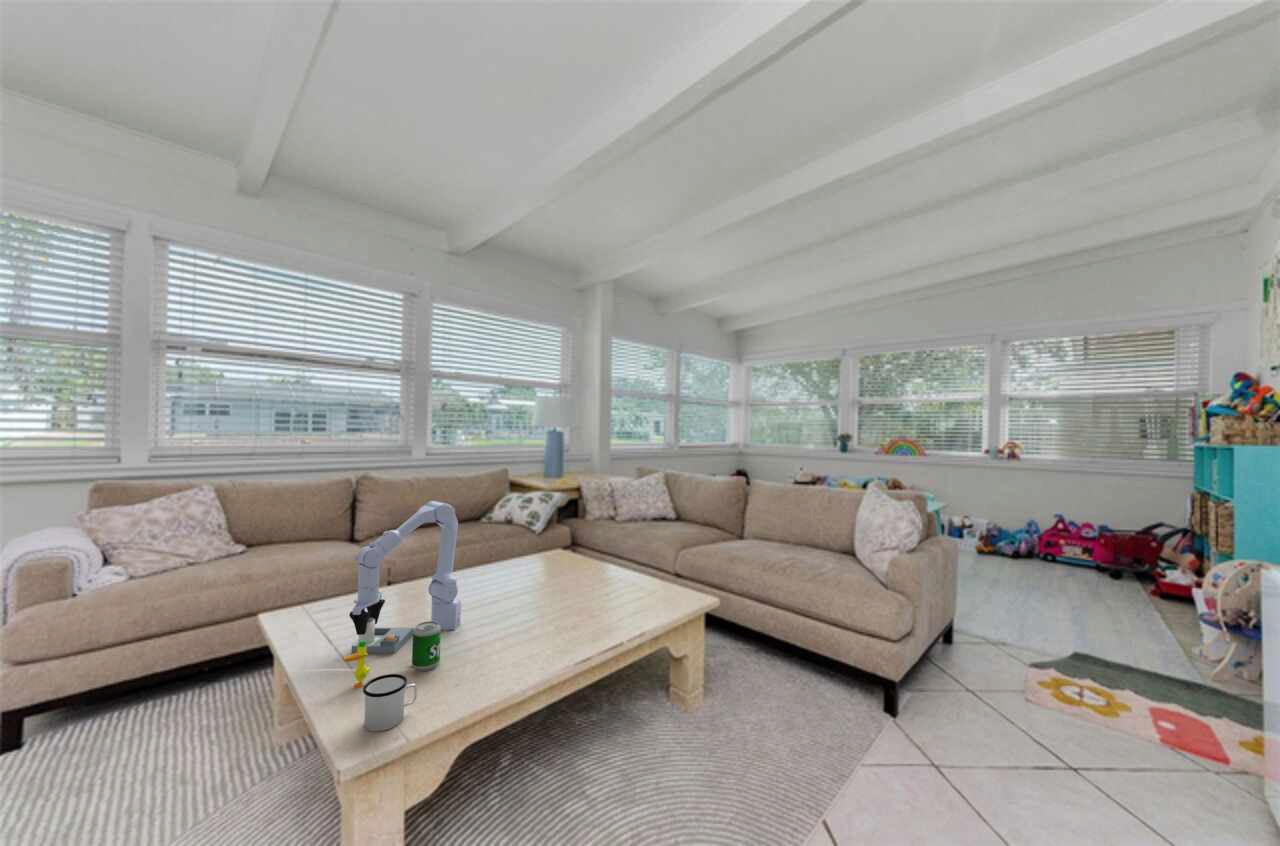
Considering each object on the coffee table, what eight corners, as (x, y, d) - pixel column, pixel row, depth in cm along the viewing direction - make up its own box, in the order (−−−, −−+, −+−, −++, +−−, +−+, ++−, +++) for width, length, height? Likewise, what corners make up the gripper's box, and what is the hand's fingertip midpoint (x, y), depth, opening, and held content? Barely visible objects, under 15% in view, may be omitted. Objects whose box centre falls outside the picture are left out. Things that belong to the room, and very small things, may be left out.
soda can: (422, 675, 137) (423, 632, 137) (406, 667, 141) (407, 626, 141) (445, 664, 144) (446, 624, 144) (429, 657, 148) (430, 618, 148)
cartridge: (370, 637, 154) (370, 615, 154) (377, 641, 152) (377, 618, 152) (355, 642, 151) (356, 619, 151) (362, 645, 148) (363, 623, 148)
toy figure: (344, 693, 127) (346, 647, 127) (341, 687, 129) (343, 643, 130) (373, 684, 131) (374, 640, 132) (369, 679, 134) (371, 636, 134)
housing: (413, 634, 163) (413, 622, 163) (395, 654, 149) (395, 641, 149) (373, 634, 162) (373, 622, 162) (351, 654, 148) (351, 641, 148)
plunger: (396, 641, 152) (396, 634, 152) (392, 644, 150) (392, 638, 150) (387, 641, 152) (387, 634, 152) (383, 644, 150) (383, 638, 150)
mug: (368, 739, 109) (369, 699, 109) (356, 720, 116) (357, 682, 116) (422, 718, 117) (424, 680, 117) (408, 701, 124) (410, 666, 124)
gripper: (366, 578, 159) (365, 619, 158) (342, 593, 144) (341, 639, 144) (389, 578, 159) (387, 619, 159) (367, 593, 145) (365, 639, 144)
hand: (367, 629), depth 151 cm, fingers open, 7 cm apart
